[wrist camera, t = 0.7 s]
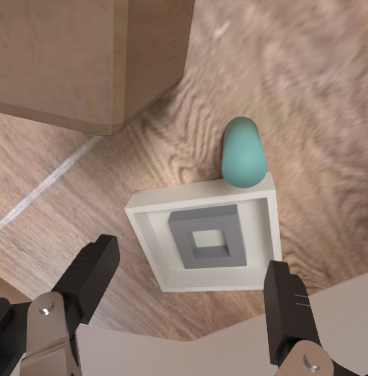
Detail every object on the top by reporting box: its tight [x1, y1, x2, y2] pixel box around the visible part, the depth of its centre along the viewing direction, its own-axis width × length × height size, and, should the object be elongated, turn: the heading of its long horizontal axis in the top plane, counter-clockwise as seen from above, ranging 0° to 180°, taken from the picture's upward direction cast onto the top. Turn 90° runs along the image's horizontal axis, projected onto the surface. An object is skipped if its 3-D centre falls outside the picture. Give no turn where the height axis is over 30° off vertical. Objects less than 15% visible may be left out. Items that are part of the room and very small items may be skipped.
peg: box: [222, 117, 267, 188], centre depth 27 cm, size 4×4×10 cm
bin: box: [124, 172, 282, 292], centre depth 38 cm, size 20×18×4 cm
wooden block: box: [0, 0, 195, 136], centre depth 18 cm, size 10×10×20 cm
